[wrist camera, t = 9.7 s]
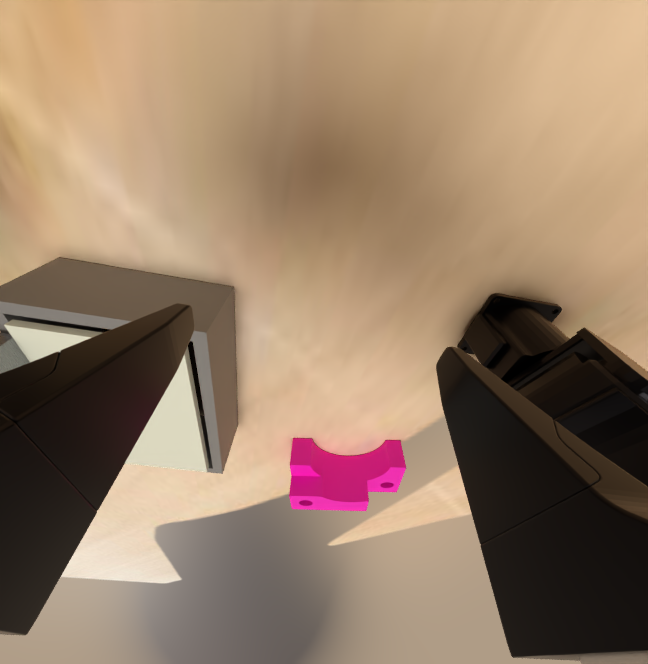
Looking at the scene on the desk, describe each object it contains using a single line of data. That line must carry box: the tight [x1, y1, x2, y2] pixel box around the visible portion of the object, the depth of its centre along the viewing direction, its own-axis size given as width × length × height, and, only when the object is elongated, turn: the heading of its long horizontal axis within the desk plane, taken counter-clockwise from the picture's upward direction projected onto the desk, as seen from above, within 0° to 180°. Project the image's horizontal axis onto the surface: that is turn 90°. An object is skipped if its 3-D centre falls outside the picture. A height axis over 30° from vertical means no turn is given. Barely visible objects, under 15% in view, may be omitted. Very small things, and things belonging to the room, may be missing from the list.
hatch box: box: [0, 258, 238, 474], centre depth 26 cm, size 14×21×6 cm, turn 170°
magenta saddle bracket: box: [289, 438, 406, 511], centre depth 37 cm, size 15×6×8 cm
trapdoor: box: [0, 319, 209, 472], centre depth 22 cm, size 14×18×3 cm
